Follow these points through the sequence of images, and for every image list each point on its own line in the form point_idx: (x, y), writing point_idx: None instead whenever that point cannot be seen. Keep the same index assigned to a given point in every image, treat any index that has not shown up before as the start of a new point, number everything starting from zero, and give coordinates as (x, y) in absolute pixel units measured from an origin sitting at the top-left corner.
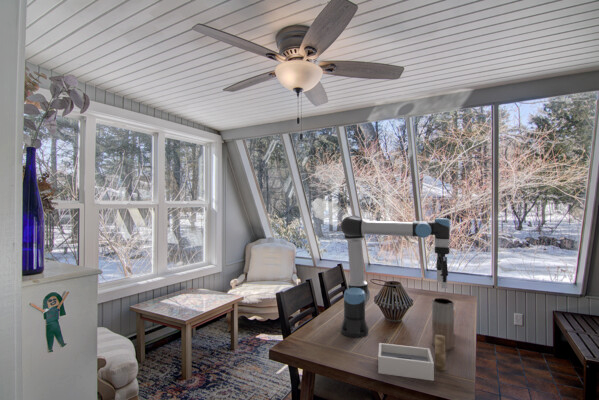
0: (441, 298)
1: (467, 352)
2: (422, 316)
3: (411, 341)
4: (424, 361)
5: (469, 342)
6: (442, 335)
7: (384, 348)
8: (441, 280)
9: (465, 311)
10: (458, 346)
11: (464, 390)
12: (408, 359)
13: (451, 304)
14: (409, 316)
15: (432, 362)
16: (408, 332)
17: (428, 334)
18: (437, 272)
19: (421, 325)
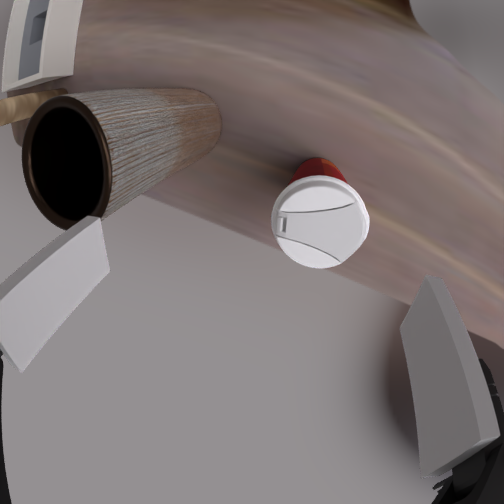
0: (104, 170)
1: (155, 191)
2: (491, 154)
3: (204, 19)
4: (4, 73)
5: (234, 227)
6: (1, 120)
7: None
8: (25, 264)
9: (491, 326)
10: (192, 177)
11: (19, 138)
12: (7, 42)
13: (39, 205)
14: (489, 96)
15: (3, 89)
16: (299, 18)
17: (290, 94)
18: (466, 405)
19: (395, 99)
